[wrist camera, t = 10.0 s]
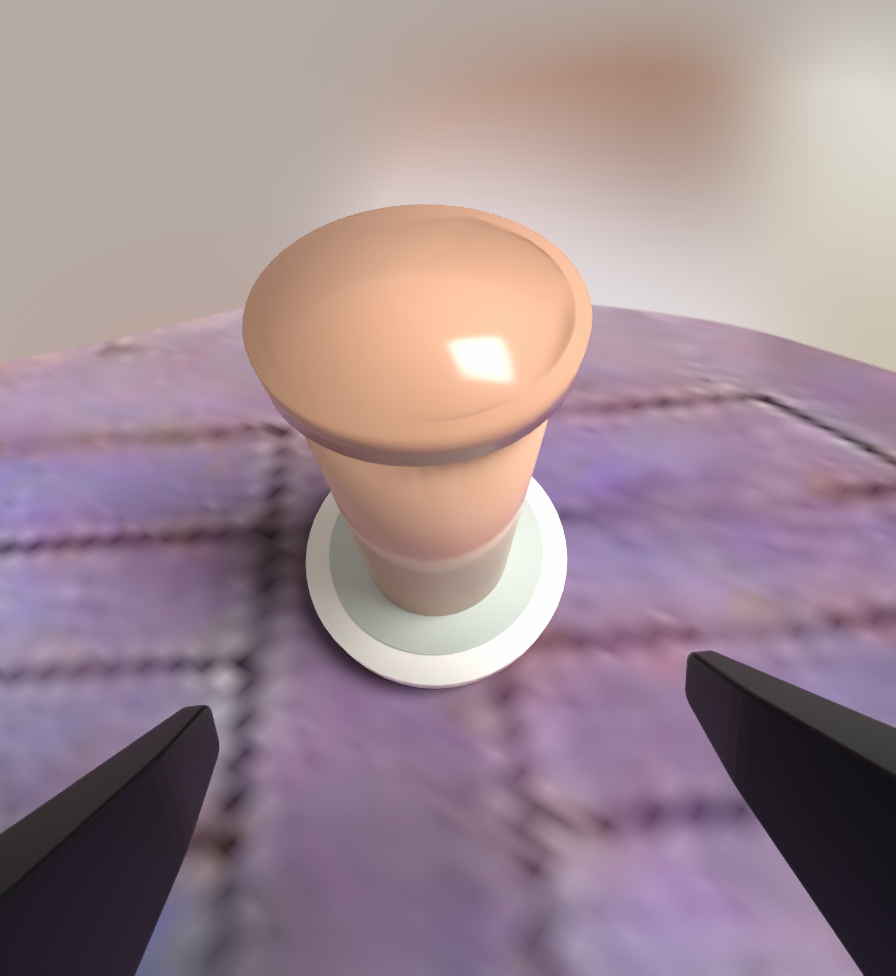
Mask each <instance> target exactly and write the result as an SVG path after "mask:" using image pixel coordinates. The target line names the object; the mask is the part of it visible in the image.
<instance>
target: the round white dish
mask: <svg viewBox="0 0 896 976" xmlns="http://www.w3.org/2000/svg"><path fill="white" fill-rule="evenodd" d="M566 568H567V551H566V541H565V537H564V532H563V528H562V525H561V522H560V519H559V517H558V514H557V512H556V510H555V508H554V506H553V504H552V502H551V500H550V499H549V497H548V496H547V494H546V493H545V492H544V490H543V489H542V487H541V486H540V485H539V484H538V483H537V482H536V481H535V480H534V478H533V477H532V476H531V480H530V483H529V487H528V490H527V494H526V497H525V501H524V504H523V508H522V511H521V515H520V518H519V521H518V525H517V528H516V532H515V535H514V539H513V542H512V546H511V549H510V553H509V556H508V559H507V563H506V566H505V570H504V572H503V574H502V577H501V579H500V580H499V582H498V584H497V585H496V587H495V588H494V589H493V590H492V592H491V593H490V594H489V595H488V596H487V597H486V598H484V599H483V600H482V601H481V602H479V603H478V604H476V605H475V606H473V607H471V608H469V609H467V610H465V611H462V612H459V613H456V614H452V615H447V616H425V615H419V614H415V613H412V612H409V611H406V610H404V609H402V608H400V607H398V606H397V605H395V604H394V603H392V602H391V601H390V600H389V599H387V598H386V597H385V596H384V595H383V594H382V593H381V591H380V590H379V589H378V588H377V586H376V585H375V583H374V581H373V580H372V578H371V576H370V574H369V571H368V569H367V567H366V565H365V563H364V561H363V559H362V557H361V554H360V552H359V550H358V548H357V546H356V544H355V542H354V540H353V537H352V535H351V533H350V531H349V529H348V527H347V525H346V523H345V520H344V518H343V516H342V514H341V512H340V510H339V508H338V506H337V503H336V501H335V499H334V497H333V495H332V493H331V492H330V493H329V494H328V496H327V497H326V499H325V500H324V502H323V503H322V505H321V507H320V509H319V511H318V513H317V515H316V517H315V520H314V522H313V525H312V528H311V531H310V535H309V539H308V544H307V552H306V576H307V583H308V587H309V592H310V596H311V599H312V602H313V604H314V607H315V610H316V612H317V614H318V616H319V618H320V619H321V621H322V623H323V625H324V627H325V628H326V629H327V631H328V632H329V633H330V635H331V636H332V637H333V639H334V640H335V641H336V642H337V643H338V644H339V645H340V646H341V647H342V648H343V649H344V650H345V651H346V652H347V653H348V654H349V655H350V656H352V657H353V658H354V659H355V660H356V661H357V662H359V663H360V664H361V665H363V666H364V667H366V668H367V669H368V670H370V671H372V672H374V673H376V674H377V675H379V676H381V677H383V678H385V679H388V680H391V681H394V682H396V683H399V684H402V685H407V686H412V687H417V688H430V689H443V688H454V687H459V686H464V685H468V684H472V683H475V682H478V681H481V680H483V679H486V678H488V677H491V676H493V675H494V674H496V673H498V672H500V671H501V670H503V669H505V668H507V667H508V666H509V665H511V664H512V663H513V662H514V661H516V660H517V659H518V658H520V657H521V656H522V655H523V654H524V653H525V652H526V651H527V650H528V649H529V648H530V647H531V646H532V644H533V643H534V642H535V640H536V639H537V638H538V637H539V635H540V634H541V632H542V631H543V630H544V628H545V627H546V626H547V624H548V623H549V621H550V619H551V617H552V615H553V614H554V612H555V610H556V608H557V606H558V603H559V600H560V597H561V594H562V592H563V587H564V583H565V578H566Z"/></svg>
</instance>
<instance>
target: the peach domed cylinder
mask: <svg viewBox="0 0 896 976" xmlns="http://www.w3.org/2000/svg"><path fill="white" fill-rule="evenodd" d="M591 328H592V308H591V301H590V296H589V293H588V291H587V288H586V285H585V282H584V281H583V279H582V277H581V275H580V274H579V272H578V270H577V269H576V267H575V266H574V265H573V264H572V262H571V261H570V260H569V259H568V257H567V256H566V255H565V254H564V253H562V251H560V250H559V249H558V248H557V247H556V246H555V245H554V244H552V243H551V242H550V241H548V240H547V239H546V238H544V237H543V236H541V235H540V234H538V233H536V232H534V231H533V230H531V229H529V228H527V227H525V226H523V225H521V224H519V223H516V222H514V221H512V220H509V219H506V218H503V217H501V216H498V215H495V214H491V213H487V212H483V211H479V210H475V209H469V208H463V207H455V206H446V205H402V206H394V207H386V208H380V209H375V210H370V211H365V212H361V213H358V214H354V215H351V216H347V217H345V218H342V219H339V220H336V221H334V222H331V223H329V224H326V225H324V226H322V227H320V228H318V229H316V230H314V231H312V232H310V233H308V234H307V235H305V236H303V237H302V238H300V239H298V240H297V241H295V242H294V243H293V244H291V245H290V246H288V247H287V248H286V249H284V250H283V251H282V252H281V253H280V254H279V255H278V256H277V257H276V258H274V259H273V260H272V261H271V262H270V264H269V265H268V266H267V267H266V268H265V269H264V271H263V272H262V273H261V274H260V276H259V277H258V279H257V281H256V282H255V284H254V286H253V287H252V289H251V292H250V294H249V296H248V299H247V301H246V305H245V309H244V314H243V327H242V334H243V339H244V345H245V350H246V352H247V355H248V357H249V360H250V362H251V365H252V367H253V368H254V370H255V372H256V374H257V376H258V378H259V380H260V382H261V384H262V386H263V388H264V390H265V391H266V393H267V395H268V397H269V398H270V400H271V402H272V403H273V405H274V406H275V408H276V409H277V411H278V412H279V413H280V414H281V415H282V416H283V417H284V418H285V420H286V421H287V422H288V423H289V424H290V425H291V426H293V427H294V428H295V429H296V430H298V431H299V432H300V433H301V434H303V435H304V436H305V438H306V440H307V442H308V444H309V446H310V448H311V450H312V453H313V455H314V457H315V459H316V461H317V463H318V465H319V467H320V470H321V472H322V474H323V476H324V478H325V480H326V482H327V484H328V487H329V489H330V491H331V493H332V495H333V497H334V499H335V501H336V503H337V506H338V508H339V510H340V512H341V514H342V516H343V518H344V520H345V523H346V525H347V527H348V529H349V531H350V533H351V535H352V537H353V540H354V542H355V544H356V546H357V548H358V550H359V552H360V554H361V557H362V559H363V561H364V563H365V565H366V567H367V569H368V571H369V574H370V576H371V578H372V580H373V581H374V583H375V585H376V586H377V588H378V589H379V590H380V591H381V593H382V594H383V595H384V596H385V597H386V598H387V599H389V600H390V601H391V602H392V603H394V604H395V605H397V606H398V607H400V608H402V609H404V610H406V611H409V612H412V613H415V614H419V615H425V616H447V615H452V614H456V613H459V612H462V611H465V610H467V609H469V608H471V607H473V606H475V605H476V604H478V603H479V602H481V601H482V600H483V599H484V598H486V597H487V596H488V595H489V594H490V593H491V592H492V590H493V589H494V588H495V587H496V585H497V584H498V582H499V580H500V579H501V577H502V574H503V572H504V570H505V566H506V563H507V559H508V556H509V553H510V549H511V546H512V542H513V539H514V535H515V532H516V528H517V525H518V521H519V518H520V515H521V511H522V508H523V504H524V501H525V497H526V494H527V490H528V487H529V483H530V480H531V476H532V473H533V470H534V466H535V463H536V459H537V456H538V452H539V449H540V445H541V442H542V438H543V435H544V431H545V428H546V425H547V421H548V418H549V417H550V416H551V415H552V414H553V413H554V412H555V411H556V410H557V409H558V408H559V407H560V405H561V404H562V402H563V401H564V399H565V398H566V396H567V395H568V393H569V392H570V390H571V388H572V386H573V383H574V381H575V379H576V377H577V374H578V371H579V368H580V365H581V362H582V359H583V356H584V353H585V350H586V347H587V344H588V340H589V336H590V332H591Z"/></svg>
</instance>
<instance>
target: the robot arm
mask: <svg viewBox="0 0 896 976" xmlns="http://www.w3.org/2000/svg"><path fill="white" fill-rule="evenodd" d="M685 691H686V697H687V700H688V702H689V704H690V706H691V708H692V710H693V712H694V713H695V715H696V717H697V719H698V721H699V722H700V724H701V726H702V728H703V730H704V731H705V733H706V735H707V737H708V739H709V740H710V742H711V744H712V746H713V748H714V749H715V751H716V753H717V755H718V757H719V758H720V760H721V762H722V764H723V766H724V768H725V769H726V771H727V773H728V774H729V776H730V778H731V779H732V781H733V783H734V784H735V786H736V787H737V789H738V791H739V792H740V794H741V795H742V797H743V798H744V800H745V801H746V803H747V804H748V806H749V807H750V809H751V810H752V811H753V813H754V814H755V816H756V817H757V819H758V820H759V822H760V823H761V825H762V826H763V828H764V829H765V831H766V832H767V834H768V835H769V837H770V838H771V839H772V841H773V842H774V844H775V845H776V847H777V848H778V850H779V851H780V853H781V854H782V856H783V857H784V859H785V860H786V862H787V863H788V865H789V866H790V867H791V869H792V870H793V872H794V873H795V875H796V876H797V878H798V879H799V881H800V882H801V884H802V885H803V887H804V888H805V890H806V891H807V893H808V894H809V896H810V897H811V898H812V900H813V901H814V903H815V904H816V906H817V907H818V909H819V910H820V912H821V913H822V915H823V916H824V918H825V919H826V921H827V922H828V924H829V925H830V926H831V928H832V929H833V931H834V932H835V934H836V935H837V937H838V938H839V940H840V941H841V943H842V944H843V946H844V947H845V949H846V950H847V952H848V953H849V954H850V956H851V957H852V959H853V960H854V962H855V963H856V965H857V966H858V968H859V969H860V971H861V972H862V974H863V975H864V976H896V728H894V727H892V726H889V725H887V724H885V723H882V722H880V721H877V720H875V719H873V718H870V717H868V716H866V715H863V714H861V713H858V712H856V711H854V710H851V709H849V708H847V707H844V706H842V705H840V704H837V703H835V702H832V701H830V700H828V699H825V698H823V697H821V696H818V695H816V694H813V693H811V692H809V691H806V690H804V689H802V688H799V687H797V686H795V685H792V684H790V683H787V682H785V681H783V680H780V679H778V678H776V677H773V676H771V675H769V674H766V673H764V672H761V671H759V670H757V669H754V668H752V667H750V666H747V665H745V664H743V663H740V662H738V661H735V660H733V659H731V658H728V657H726V656H724V655H721V654H719V653H717V652H714V651H699V652H692V653H690V654H689V655H688V658H687V668H686V685H685ZM218 753H219V739H218V735H217V731H216V727H215V723H214V719H213V714H212V711H211V709H210V707H209V706H207V705H199V706H190V707H185V708H182V709H181V710H179V711H178V712H176V713H175V714H174V715H172V716H171V717H169V718H168V719H166V720H165V721H163V722H162V723H161V724H159V725H158V726H156V727H155V728H153V729H152V730H150V731H149V732H148V733H146V734H145V735H143V736H142V737H140V738H139V739H137V740H136V741H134V742H133V743H132V744H130V745H129V746H127V747H126V748H124V749H123V750H121V751H120V752H119V753H117V754H116V755H114V756H113V757H111V758H110V759H108V760H107V761H105V762H104V763H103V764H101V765H100V766H98V767H97V768H95V769H94V770H92V771H91V772H90V773H88V774H87V775H85V776H84V777H82V778H81V779H79V780H78V781H76V782H75V783H74V784H72V785H71V786H69V787H68V788H66V789H65V790H63V791H62V792H61V793H59V794H58V795H56V796H55V797H53V798H52V799H50V800H49V801H48V802H46V803H45V804H43V805H42V806H40V807H39V808H37V809H36V810H34V811H33V812H32V813H30V814H29V815H27V816H26V817H24V818H23V819H21V820H20V821H19V822H17V823H16V824H14V825H13V826H11V827H10V828H8V829H7V830H5V831H4V832H3V833H1V834H0V976H135V973H136V971H137V969H138V966H139V964H140V962H141V959H142V957H143V954H144V952H145V950H146V947H147V945H148V943H149V940H150V938H151V936H152V933H153V931H154V929H155V926H156V924H157V921H158V919H159V917H160V914H161V912H162V910H163V907H164V905H165V903H166V900H167V898H168V895H169V893H170V891H171V888H172V886H173V884H174V881H175V879H176V877H177V874H178V872H179V869H180V867H181V865H182V862H183V860H184V857H185V855H186V852H187V850H188V847H189V844H190V841H191V838H192V835H193V833H194V829H195V826H196V823H197V820H198V817H199V814H200V811H201V808H202V804H203V801H204V798H205V795H206V792H207V789H208V786H209V783H210V779H211V776H212V773H213V770H214V767H215V764H216V761H217V758H218Z"/></svg>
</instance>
